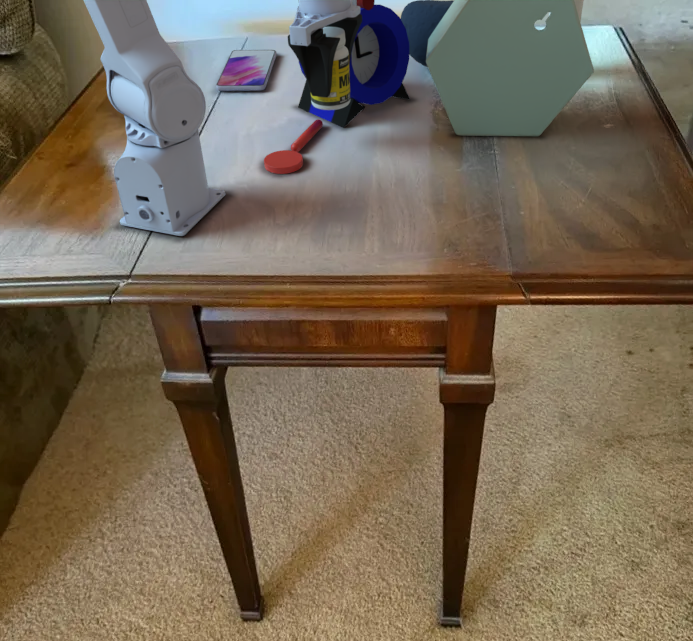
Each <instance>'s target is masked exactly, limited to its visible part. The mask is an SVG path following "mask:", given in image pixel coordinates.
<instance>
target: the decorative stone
mask: <svg viewBox="0 0 693 641" xmlns="http://www.w3.org/2000/svg"><path fill="white" fill-rule="evenodd" d="M453 2H454V0H412V1H411V2H408V3H407V4H406V5H405V6H404V8H403V9H402V11H401V15H400V19H401V21H402V23H403V25H404V26H405V28H406V31H407V36H408V40H409V57H411V58H412V59H413V60H414V61H415V62H416V63H418V64H420V65H421V66H424V67H426V68H428V66H427V64H426V54H427V45H428V39H429V37H430V36H431V34H432V33H433V31H434V30H435V28H436V27H437V25H438V24H439V22H440V21H441V19H442V18H443V16H444V15H445V13H446V12H447V11H448V9H449V8H450V6H451V5H452V3H453Z"/></svg>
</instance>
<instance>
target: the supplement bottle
mask: <svg viewBox="0 0 693 641" xmlns="http://www.w3.org/2000/svg"><path fill="white" fill-rule="evenodd" d="M324 33H325V34H326V37H336V38H340V41H339V43H338V46H337V49H336V52H335V56H334V61H333V68H332V86H331V92H330V95H329V96H328V97H318V96H312V94H311V102H312V105H313V106H314V107H316V108H318V109H321V110H337V109H341V108H344V107H346V106H347V105H348V104H349V103H350V72H349V52H348V49H347V48H346V47H345V46H344V45H345V41H346V40H345V31H344V30H343V29H342V28H339V27H324V28H323V34H324Z"/></svg>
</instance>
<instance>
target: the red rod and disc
mask: <svg viewBox="0 0 693 641" xmlns="http://www.w3.org/2000/svg"><path fill="white" fill-rule="evenodd" d="M323 126H324V123H323V121H322V120H321V119H315V120H314V121H313V122H312V123H310V125H309V126H308V127H307V128H306V129H305V130H304V131H303V132H302V133H301V134H300V135H299V136H298V137H297V139H295V140H294V141H293V142H292V143H291V145H290V150H289V149H288V150H287V149H284V150H283V149H281V150H277V151H272V152H270V153H268V154H267V155H266V156H265V157H264V158H263V165H264V169H265V170H266V171H267V172H269V173H272V174H277V175H278V174H279V175H285V174H291V173H295V172H296V171H299V170H300V169H301V168H302V167H303V165H304V159H303V155H302V154H301V152H300V151H301V150H302V149H303V148H304V147H305V146H306V145H307V144H308V143H309V142H310V140H312V138H314V137H315V135H316V134H317V133H318V132H319V131H320V130H321V129H322V128H323Z"/></svg>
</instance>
